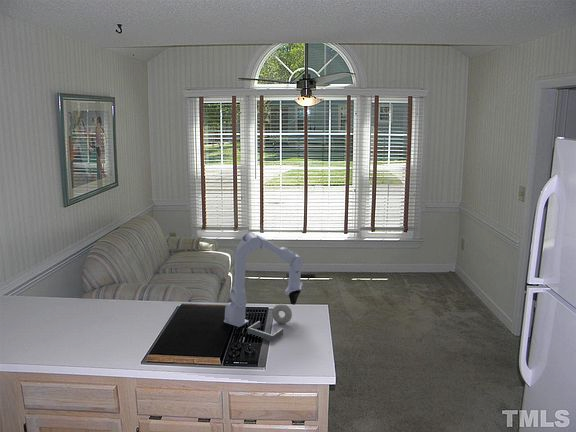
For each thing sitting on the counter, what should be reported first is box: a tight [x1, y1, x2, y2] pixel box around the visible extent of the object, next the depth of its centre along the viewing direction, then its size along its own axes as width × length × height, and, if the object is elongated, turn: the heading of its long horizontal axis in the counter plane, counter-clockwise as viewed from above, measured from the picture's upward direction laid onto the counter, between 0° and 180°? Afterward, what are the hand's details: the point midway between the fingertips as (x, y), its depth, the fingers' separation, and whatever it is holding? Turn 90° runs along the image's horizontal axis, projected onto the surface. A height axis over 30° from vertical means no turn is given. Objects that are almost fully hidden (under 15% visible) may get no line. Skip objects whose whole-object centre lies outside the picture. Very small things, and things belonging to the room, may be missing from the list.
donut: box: [271, 303, 293, 325], centre depth 246 cm, size 10×3×10 cm, turn 78°
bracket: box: [247, 320, 284, 343], centre depth 235 cm, size 14×9×3 cm
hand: (293, 303), depth 254 cm, fingers closed
